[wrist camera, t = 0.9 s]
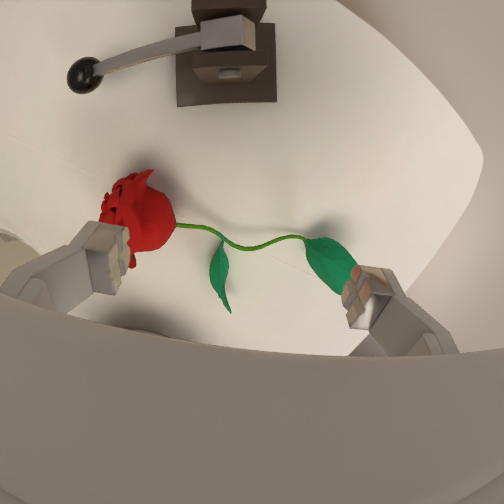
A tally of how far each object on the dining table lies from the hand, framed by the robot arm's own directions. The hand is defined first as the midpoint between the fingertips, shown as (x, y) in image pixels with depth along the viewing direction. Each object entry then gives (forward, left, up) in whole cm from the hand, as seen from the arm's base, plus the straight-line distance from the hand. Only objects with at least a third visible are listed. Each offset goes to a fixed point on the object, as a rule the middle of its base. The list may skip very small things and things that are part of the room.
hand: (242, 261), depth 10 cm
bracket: (-10, 0, -23) cm, 25 cm away
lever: (-10, -6, -15) cm, 19 cm away
